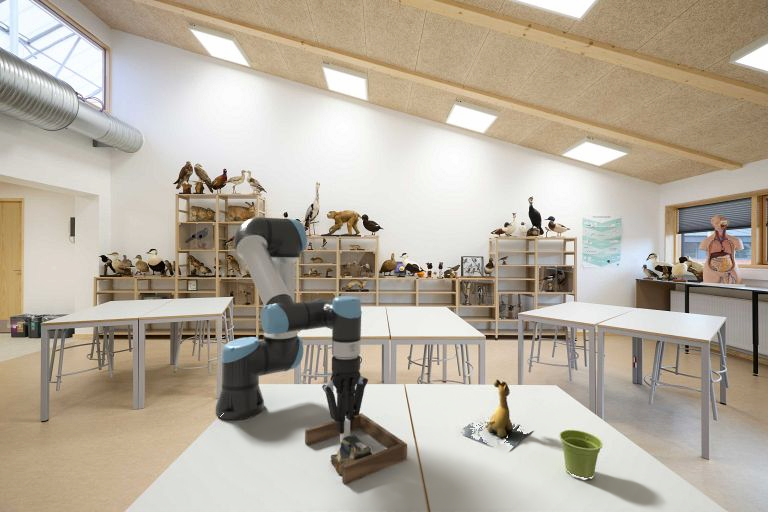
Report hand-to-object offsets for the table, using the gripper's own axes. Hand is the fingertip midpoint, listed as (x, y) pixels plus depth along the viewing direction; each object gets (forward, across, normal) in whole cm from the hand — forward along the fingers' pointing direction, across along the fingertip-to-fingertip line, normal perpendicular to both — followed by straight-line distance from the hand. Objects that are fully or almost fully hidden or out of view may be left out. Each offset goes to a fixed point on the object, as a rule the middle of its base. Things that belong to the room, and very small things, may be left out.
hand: (344, 443), depth 100 cm
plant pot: (+3, +43, -40) cm, 59 cm away
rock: (+3, -1, -5) cm, 6 cm away
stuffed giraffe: (+3, +44, -15) cm, 47 cm away
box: (+3, +3, 0) cm, 4 cm away
